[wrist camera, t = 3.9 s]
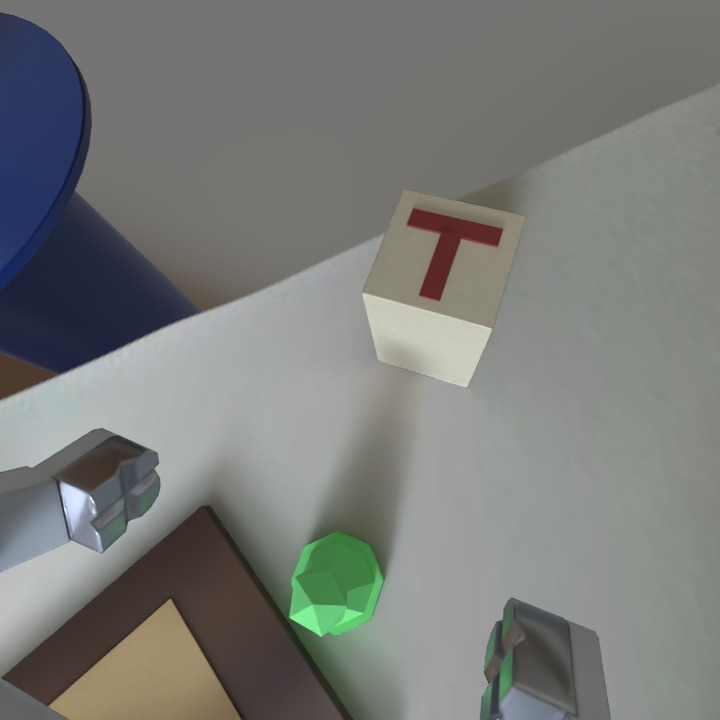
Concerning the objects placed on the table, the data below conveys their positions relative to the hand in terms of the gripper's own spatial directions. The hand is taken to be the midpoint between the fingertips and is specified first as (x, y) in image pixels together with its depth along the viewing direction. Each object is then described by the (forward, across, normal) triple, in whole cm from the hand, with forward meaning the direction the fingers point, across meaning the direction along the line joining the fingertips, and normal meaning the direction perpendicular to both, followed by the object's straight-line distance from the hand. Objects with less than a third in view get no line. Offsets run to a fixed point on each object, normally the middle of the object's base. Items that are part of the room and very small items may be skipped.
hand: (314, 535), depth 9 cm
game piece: (+7, 0, -11) cm, 13 cm away
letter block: (+16, 0, -2) cm, 17 cm away
